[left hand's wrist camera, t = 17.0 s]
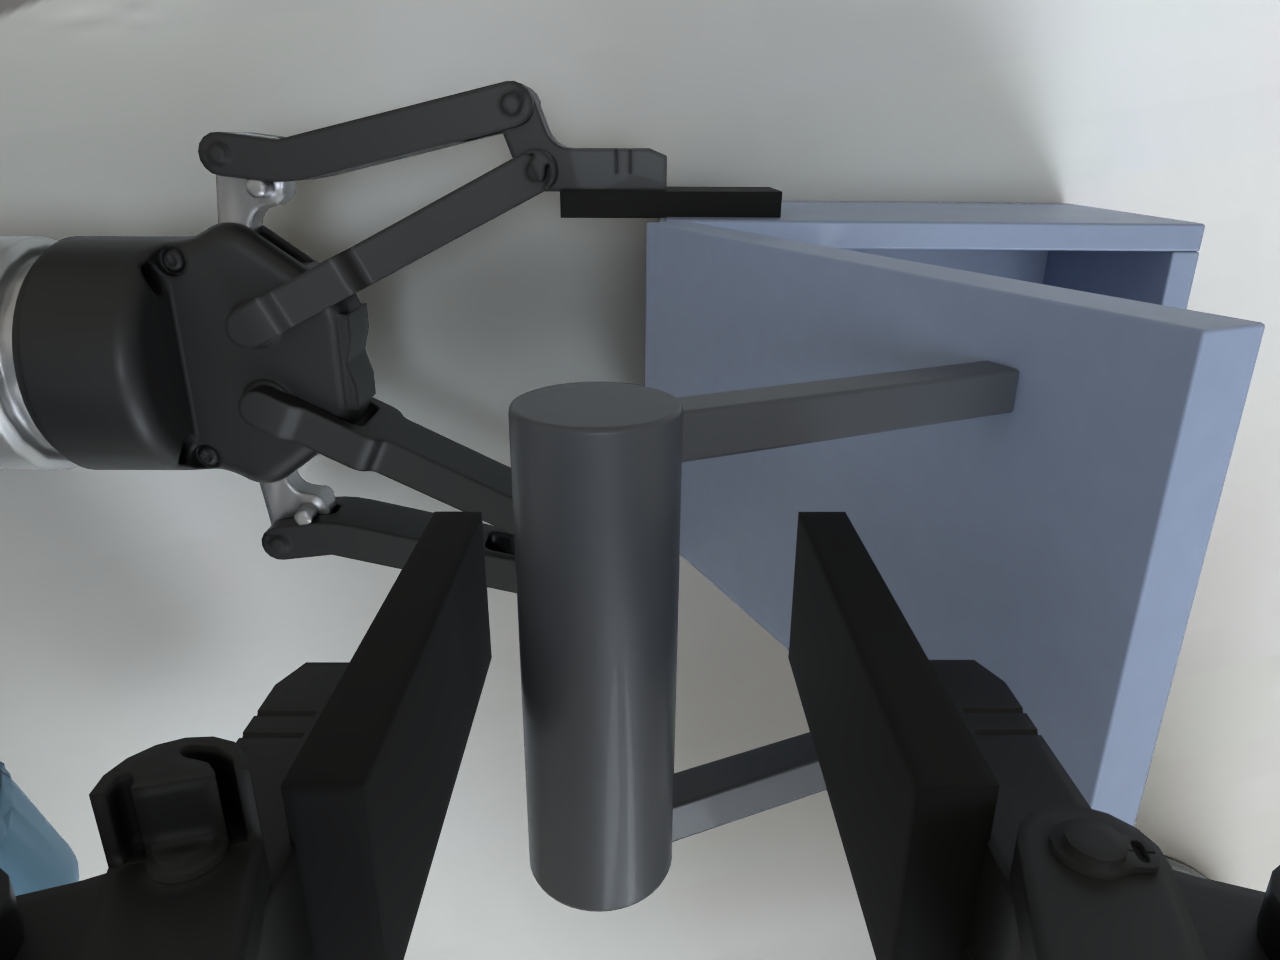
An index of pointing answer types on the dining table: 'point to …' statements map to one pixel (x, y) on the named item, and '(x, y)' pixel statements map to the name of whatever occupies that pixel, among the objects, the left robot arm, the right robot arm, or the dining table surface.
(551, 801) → the lid
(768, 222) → the chest
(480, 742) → the dining table surface
